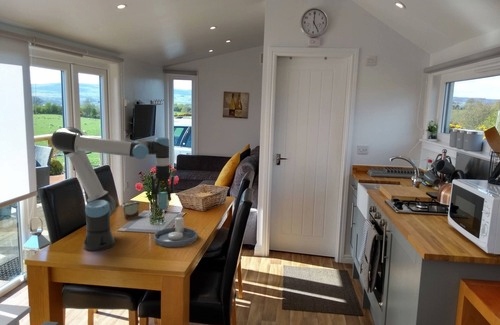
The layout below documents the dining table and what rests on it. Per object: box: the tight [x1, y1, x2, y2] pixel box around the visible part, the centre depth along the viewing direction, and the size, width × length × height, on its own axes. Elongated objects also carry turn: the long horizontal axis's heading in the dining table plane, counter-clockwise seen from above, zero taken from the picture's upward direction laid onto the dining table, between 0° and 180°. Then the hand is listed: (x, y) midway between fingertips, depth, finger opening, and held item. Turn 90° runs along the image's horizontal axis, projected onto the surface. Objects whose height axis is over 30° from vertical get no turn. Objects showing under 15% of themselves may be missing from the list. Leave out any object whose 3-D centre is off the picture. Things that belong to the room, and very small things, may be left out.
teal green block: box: [158, 191, 169, 211], centre depth 217 cm, size 5×5×9 cm
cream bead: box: [174, 216, 185, 234], centre depth 219 cm, size 5×5×9 cm
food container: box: [121, 200, 141, 220], centre depth 250 cm, size 12×6×10 cm, turn 141°
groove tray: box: [152, 226, 199, 248], centre depth 212 cm, size 24×24×3 cm
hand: (163, 204), depth 217 cm, fingers closed on teal green block, 5 cm apart
